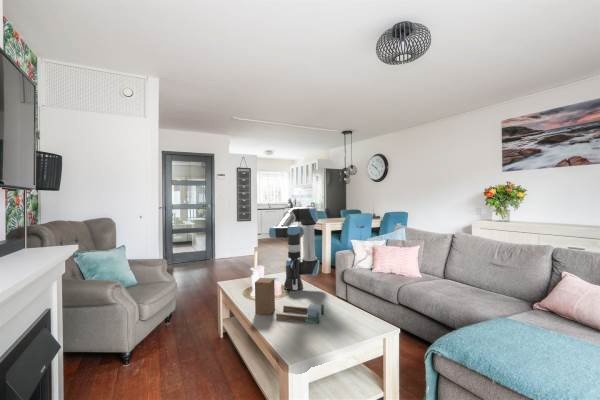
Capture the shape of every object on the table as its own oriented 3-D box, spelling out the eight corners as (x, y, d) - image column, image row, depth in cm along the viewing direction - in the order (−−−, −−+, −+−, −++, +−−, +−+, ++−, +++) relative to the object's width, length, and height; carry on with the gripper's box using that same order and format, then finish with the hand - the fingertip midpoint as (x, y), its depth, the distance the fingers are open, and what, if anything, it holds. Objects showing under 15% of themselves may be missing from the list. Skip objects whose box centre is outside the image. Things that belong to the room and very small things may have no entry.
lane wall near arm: (284, 310, 182) (284, 300, 182) (323, 314, 175) (323, 304, 174) (283, 310, 181) (283, 301, 181) (323, 315, 173) (323, 305, 173)
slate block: (310, 315, 173) (310, 304, 173) (321, 316, 171) (321, 305, 171) (307, 320, 166) (307, 308, 166) (319, 321, 165) (318, 309, 164)
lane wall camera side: (277, 318, 170) (276, 308, 170) (319, 322, 163) (319, 312, 163) (276, 319, 169) (276, 309, 169) (318, 324, 161) (318, 313, 161)
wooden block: (270, 315, 175) (269, 282, 174) (255, 314, 177) (254, 282, 176) (275, 308, 184) (274, 278, 184) (260, 307, 186) (259, 277, 186)
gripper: (291, 248, 179) (292, 285, 180) (284, 253, 167) (285, 292, 168) (303, 249, 177) (303, 286, 178) (297, 253, 165) (297, 293, 166)
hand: (295, 289), depth 173 cm, fingers closed
